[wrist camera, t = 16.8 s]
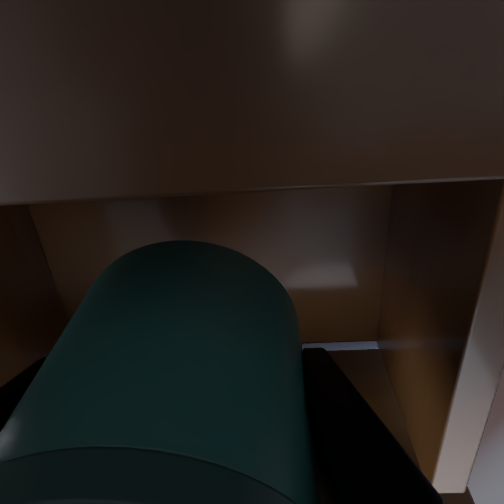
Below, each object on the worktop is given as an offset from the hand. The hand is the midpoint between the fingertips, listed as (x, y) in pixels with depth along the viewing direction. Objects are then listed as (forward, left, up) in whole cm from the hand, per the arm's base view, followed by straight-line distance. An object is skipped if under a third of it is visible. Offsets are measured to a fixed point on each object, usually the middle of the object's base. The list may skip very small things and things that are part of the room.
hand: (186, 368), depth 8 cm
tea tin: (0, 0, -1) cm, 1 cm away
